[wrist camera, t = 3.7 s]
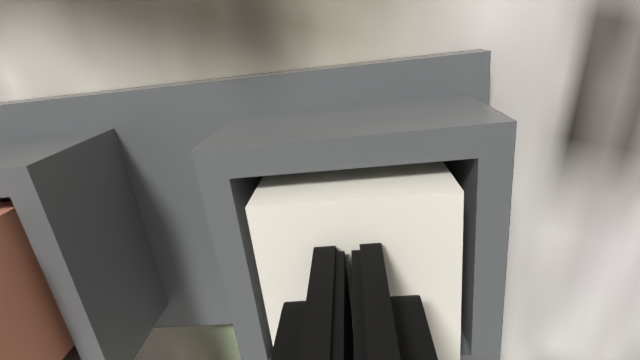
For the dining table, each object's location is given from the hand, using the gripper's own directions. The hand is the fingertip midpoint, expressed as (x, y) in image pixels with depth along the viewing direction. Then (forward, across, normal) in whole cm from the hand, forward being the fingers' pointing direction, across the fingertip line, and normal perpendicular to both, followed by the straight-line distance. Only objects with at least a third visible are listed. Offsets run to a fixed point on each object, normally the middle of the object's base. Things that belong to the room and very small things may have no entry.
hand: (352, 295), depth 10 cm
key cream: (+3, 0, 0) cm, 3 cm away
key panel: (+6, +6, 0) cm, 8 cm away
